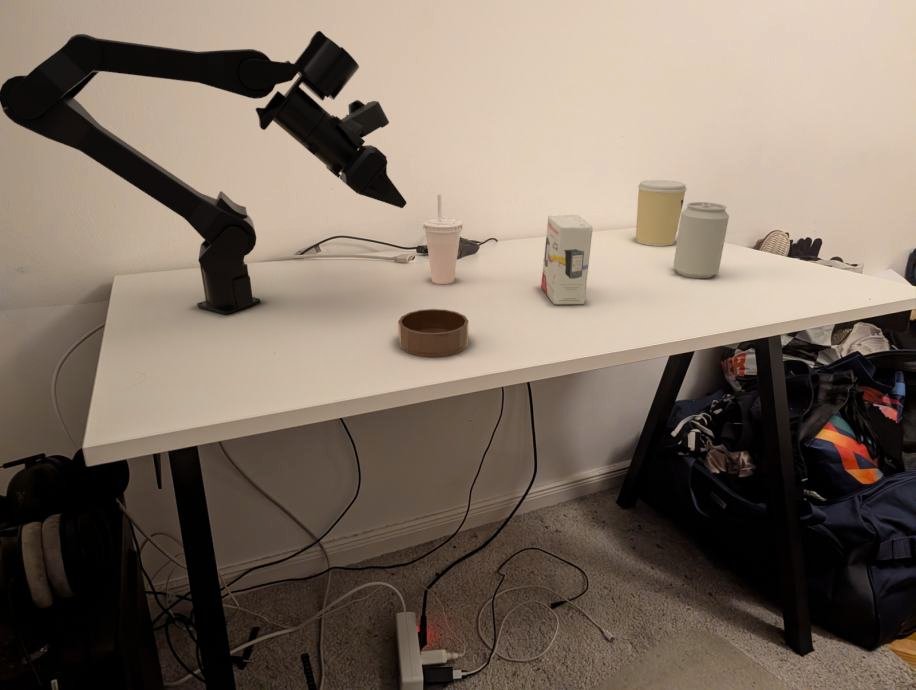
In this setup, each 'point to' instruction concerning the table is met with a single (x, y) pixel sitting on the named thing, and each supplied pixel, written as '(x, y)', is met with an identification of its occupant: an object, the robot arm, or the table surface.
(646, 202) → the yellow lidded canister
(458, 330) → the brown bowl
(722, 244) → the can
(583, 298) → the ink box
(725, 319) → the table surface
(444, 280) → the smoothie
